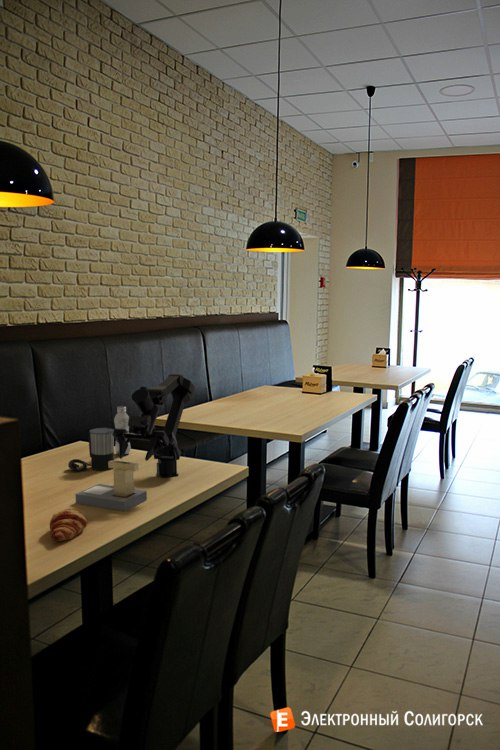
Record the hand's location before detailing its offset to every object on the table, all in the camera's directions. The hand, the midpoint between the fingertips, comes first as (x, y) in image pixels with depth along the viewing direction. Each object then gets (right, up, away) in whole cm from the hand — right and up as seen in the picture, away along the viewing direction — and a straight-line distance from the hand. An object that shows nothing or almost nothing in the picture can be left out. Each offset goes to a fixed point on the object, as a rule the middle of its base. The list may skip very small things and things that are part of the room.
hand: (133, 459), depth 211 cm
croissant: (-13, -17, -29) cm, 36 cm away
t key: (-2, -14, -5) cm, 15 cm away
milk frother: (-22, -9, +36) cm, 43 cm away
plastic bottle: (-15, -6, +58) cm, 60 cm away
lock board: (-6, -13, -3) cm, 15 cm away
